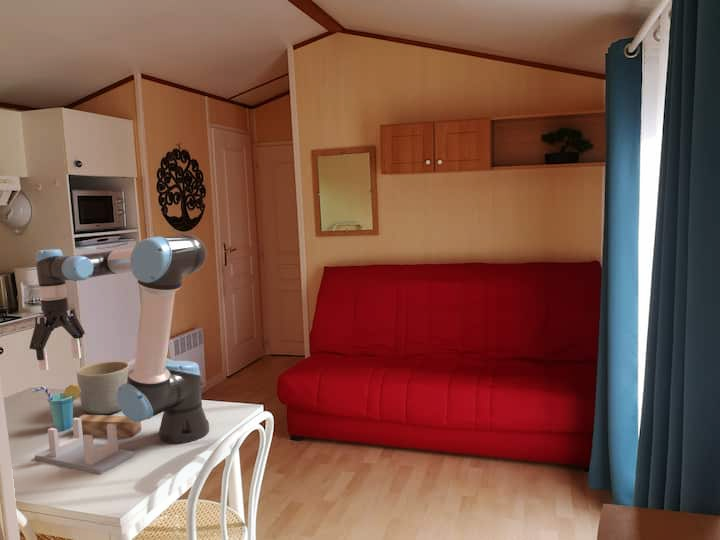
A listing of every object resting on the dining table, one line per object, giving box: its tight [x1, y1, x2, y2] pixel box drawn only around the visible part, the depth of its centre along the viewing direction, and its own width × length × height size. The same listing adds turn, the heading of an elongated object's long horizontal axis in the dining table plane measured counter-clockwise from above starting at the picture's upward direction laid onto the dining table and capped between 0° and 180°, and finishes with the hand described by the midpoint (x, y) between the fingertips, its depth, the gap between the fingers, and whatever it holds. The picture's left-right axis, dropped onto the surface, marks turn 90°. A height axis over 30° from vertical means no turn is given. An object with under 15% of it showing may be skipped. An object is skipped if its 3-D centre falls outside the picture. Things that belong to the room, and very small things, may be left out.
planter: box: [76, 360, 130, 415], centre depth 206 cm, size 17×17×15 cm
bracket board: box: [34, 417, 135, 475], centre depth 168 cm, size 26×12×9 cm, turn 66°
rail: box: [78, 414, 142, 438], centre depth 186 cm, size 20×5×5 cm, turn 81°
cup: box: [31, 384, 81, 432], centre depth 190 cm, size 14×8×15 cm, turn 120°
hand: (61, 363), depth 187 cm, fingers open, 13 cm apart
